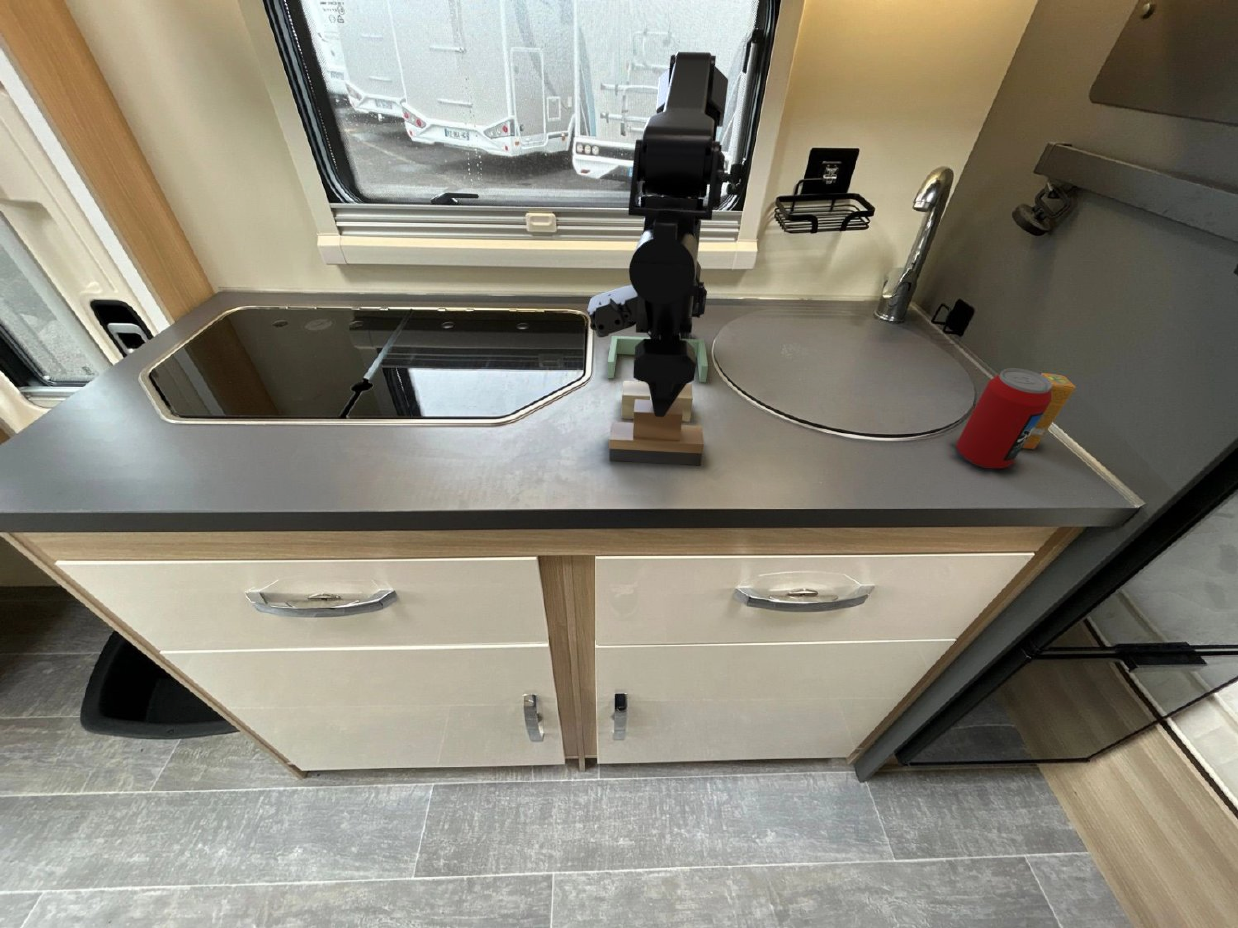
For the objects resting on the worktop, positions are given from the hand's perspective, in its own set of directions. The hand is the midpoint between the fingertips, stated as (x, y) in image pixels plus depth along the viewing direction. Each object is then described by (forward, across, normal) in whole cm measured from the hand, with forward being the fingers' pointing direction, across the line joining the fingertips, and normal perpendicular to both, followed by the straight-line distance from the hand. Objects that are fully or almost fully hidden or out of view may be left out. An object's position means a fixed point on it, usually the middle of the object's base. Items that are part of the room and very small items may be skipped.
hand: (659, 395), depth 65 cm
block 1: (+9, -10, -3) cm, 14 cm away
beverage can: (+9, -3, +44) cm, 45 cm away
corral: (+9, -24, 0) cm, 26 cm away
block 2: (+9, -10, +3) cm, 14 cm away
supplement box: (+9, -7, +51) cm, 52 cm away
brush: (+9, 0, 0) cm, 9 cm away
